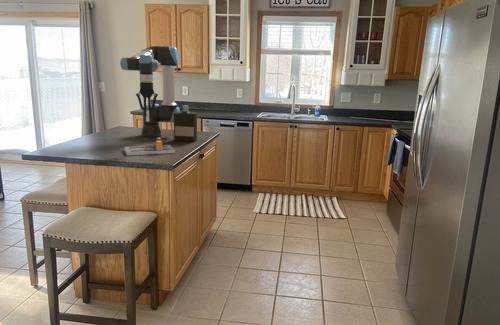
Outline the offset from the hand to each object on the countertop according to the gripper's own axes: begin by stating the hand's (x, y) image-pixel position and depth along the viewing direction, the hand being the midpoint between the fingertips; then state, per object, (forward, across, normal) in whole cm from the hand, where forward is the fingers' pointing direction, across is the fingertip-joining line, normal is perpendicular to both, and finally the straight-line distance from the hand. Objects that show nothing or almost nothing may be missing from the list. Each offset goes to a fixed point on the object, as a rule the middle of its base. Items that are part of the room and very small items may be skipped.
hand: (147, 121), depth 219 cm
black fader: (+16, +7, 0) cm, 17 cm away
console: (+18, 0, -4) cm, 19 cm away
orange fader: (+16, +5, -9) cm, 19 cm away
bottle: (+19, +30, +25) cm, 43 cm away
